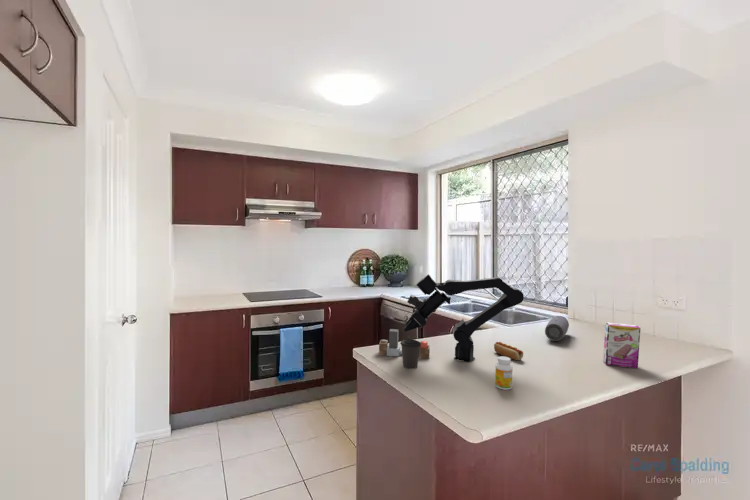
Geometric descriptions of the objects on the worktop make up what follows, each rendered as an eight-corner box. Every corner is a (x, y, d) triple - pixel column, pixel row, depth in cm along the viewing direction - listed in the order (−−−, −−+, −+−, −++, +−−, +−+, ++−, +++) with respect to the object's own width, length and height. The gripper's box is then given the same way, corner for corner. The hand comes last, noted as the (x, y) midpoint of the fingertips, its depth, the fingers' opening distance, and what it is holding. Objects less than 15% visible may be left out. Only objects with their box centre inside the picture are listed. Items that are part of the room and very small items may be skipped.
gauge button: (427, 350, 154) (427, 341, 154) (427, 352, 151) (427, 343, 151) (420, 350, 154) (420, 340, 154) (420, 352, 151) (420, 342, 151)
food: (491, 352, 160) (491, 341, 160) (500, 351, 163) (500, 339, 162) (516, 362, 148) (516, 350, 147) (525, 361, 150) (526, 348, 150)
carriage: (399, 352, 157) (400, 328, 157) (398, 356, 151) (399, 332, 151) (388, 351, 158) (388, 328, 158) (386, 355, 152) (387, 331, 152)
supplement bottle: (492, 383, 126) (493, 355, 125) (507, 383, 126) (508, 355, 126) (498, 390, 120) (499, 361, 120) (514, 390, 121) (515, 360, 120)
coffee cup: (419, 371, 136) (420, 344, 135) (398, 369, 137) (398, 342, 137) (421, 363, 144) (422, 338, 143) (401, 362, 145) (401, 337, 145)
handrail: (418, 355, 154) (418, 351, 154) (418, 356, 152) (418, 352, 152) (387, 353, 156) (387, 349, 156) (386, 354, 154) (386, 350, 154)
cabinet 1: (387, 351, 158) (387, 339, 157) (386, 355, 153) (386, 342, 152) (380, 351, 158) (380, 338, 158) (378, 355, 153) (379, 341, 153)
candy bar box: (605, 365, 146) (607, 324, 146) (602, 361, 151) (604, 321, 150) (638, 369, 143) (641, 327, 142) (634, 365, 147) (636, 324, 147)
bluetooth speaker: (564, 345, 173) (565, 324, 173) (543, 341, 178) (544, 321, 178) (569, 334, 192) (570, 315, 192) (550, 332, 197) (550, 313, 197)
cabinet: (429, 354, 155) (429, 345, 155) (429, 358, 150) (429, 349, 150) (418, 354, 156) (418, 344, 155) (418, 357, 151) (418, 348, 150)
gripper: (420, 285, 161) (394, 309, 163) (418, 292, 143) (389, 318, 145) (437, 304, 160) (411, 327, 162) (438, 313, 142) (408, 339, 144)
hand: (405, 327), depth 153 cm, fingers open, 9 cm apart
